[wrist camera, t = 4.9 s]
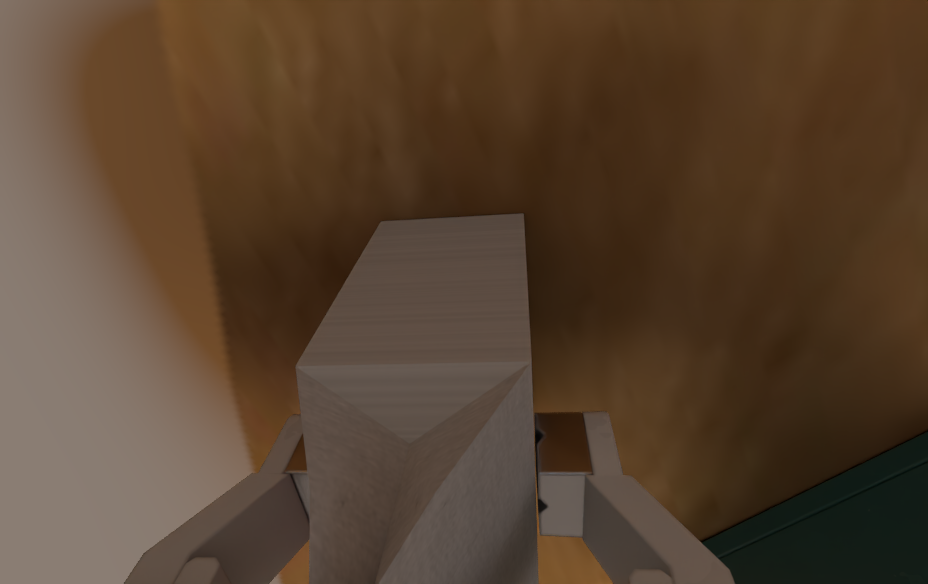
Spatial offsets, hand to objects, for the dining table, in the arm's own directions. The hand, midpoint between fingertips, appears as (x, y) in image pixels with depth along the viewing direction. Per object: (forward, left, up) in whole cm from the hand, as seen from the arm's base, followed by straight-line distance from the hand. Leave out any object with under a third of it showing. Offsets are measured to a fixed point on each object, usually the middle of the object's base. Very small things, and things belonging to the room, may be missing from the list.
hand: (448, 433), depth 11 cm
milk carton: (0, 0, -4) cm, 4 cm away
